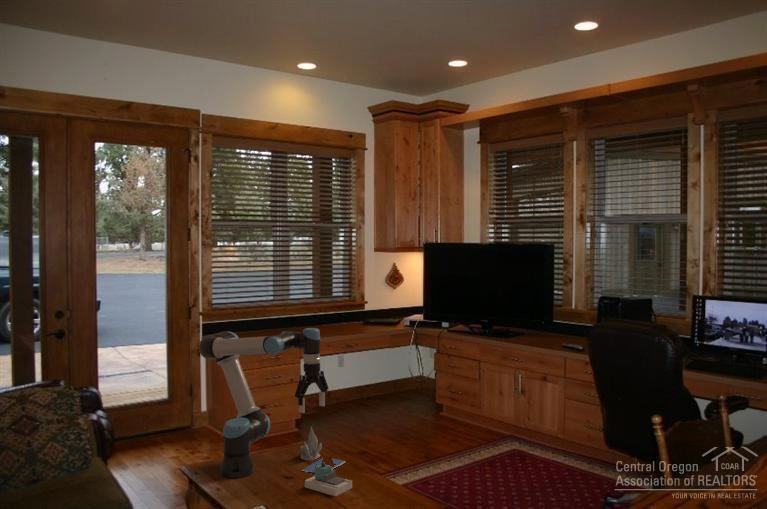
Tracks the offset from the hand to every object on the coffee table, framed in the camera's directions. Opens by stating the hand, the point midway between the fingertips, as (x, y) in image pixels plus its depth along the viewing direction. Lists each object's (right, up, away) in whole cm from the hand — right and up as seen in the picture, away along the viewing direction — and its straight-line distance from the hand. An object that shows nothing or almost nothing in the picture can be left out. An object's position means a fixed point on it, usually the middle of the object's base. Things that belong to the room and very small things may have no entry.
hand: (312, 409), depth 291 cm
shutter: (+12, -26, -20) cm, 35 cm away
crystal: (-3, -29, +20) cm, 35 cm away
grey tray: (+9, -29, -18) cm, 35 cm away
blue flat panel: (+5, -29, +7) cm, 31 cm away
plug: (+7, -29, -16) cm, 33 cm away
